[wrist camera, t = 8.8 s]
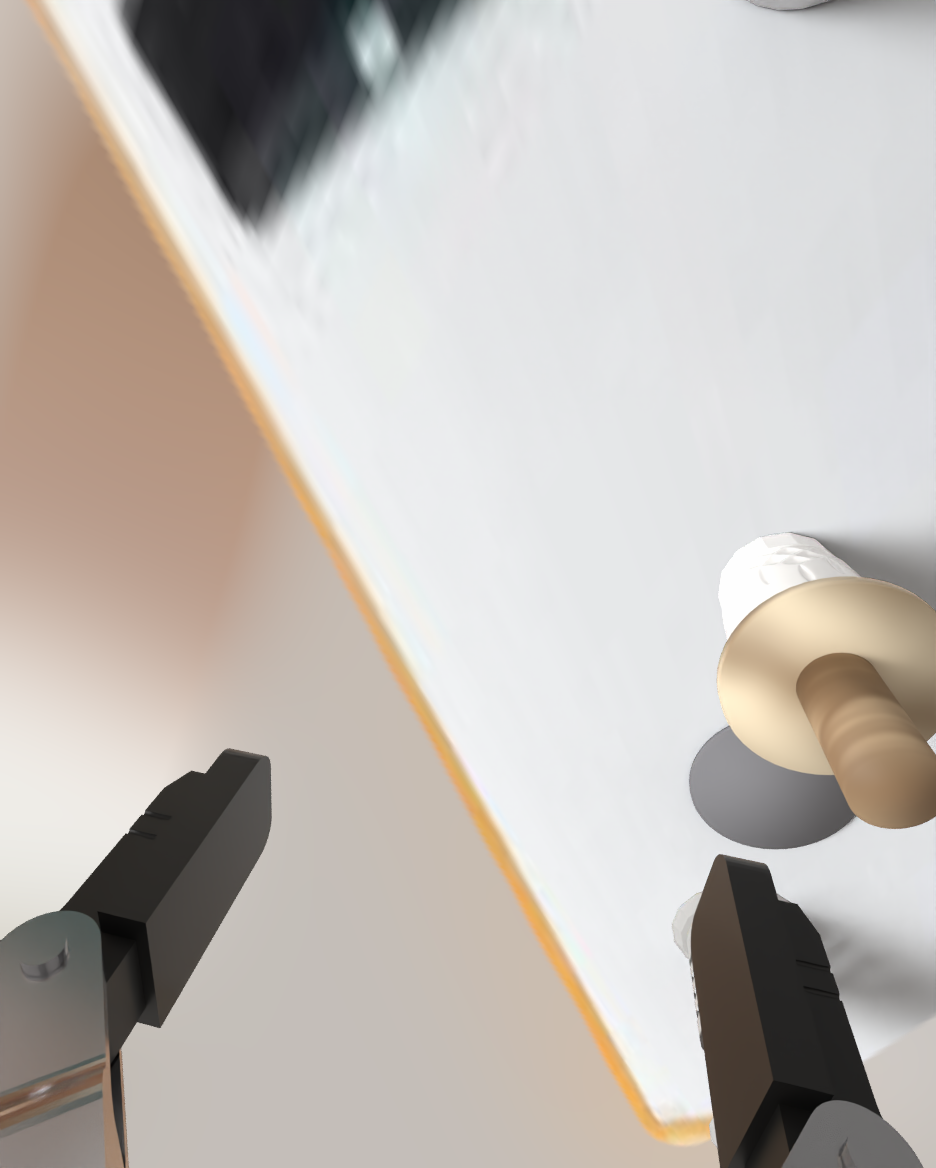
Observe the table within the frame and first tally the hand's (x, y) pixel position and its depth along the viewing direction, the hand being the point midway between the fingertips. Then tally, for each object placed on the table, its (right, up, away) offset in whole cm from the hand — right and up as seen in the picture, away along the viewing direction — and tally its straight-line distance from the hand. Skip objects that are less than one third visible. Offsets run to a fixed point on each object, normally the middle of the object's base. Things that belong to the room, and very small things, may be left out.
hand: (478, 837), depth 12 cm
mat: (+20, -9, +34) cm, 40 cm away
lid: (+16, 0, +19) cm, 25 cm away
